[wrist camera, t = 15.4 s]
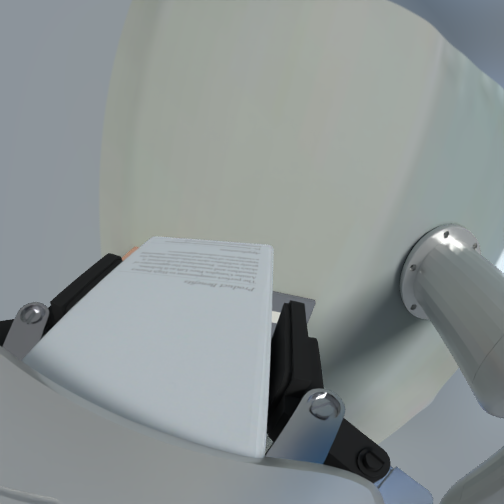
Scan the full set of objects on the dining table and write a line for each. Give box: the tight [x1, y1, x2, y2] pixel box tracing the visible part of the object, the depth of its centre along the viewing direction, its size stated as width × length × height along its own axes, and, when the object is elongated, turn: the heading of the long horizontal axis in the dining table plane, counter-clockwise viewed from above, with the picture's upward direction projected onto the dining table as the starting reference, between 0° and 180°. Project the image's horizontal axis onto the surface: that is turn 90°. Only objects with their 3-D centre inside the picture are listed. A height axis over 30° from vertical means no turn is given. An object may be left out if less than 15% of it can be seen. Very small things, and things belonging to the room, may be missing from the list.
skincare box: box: [22, 236, 274, 458], centre depth 8 cm, size 6×4×12 cm
